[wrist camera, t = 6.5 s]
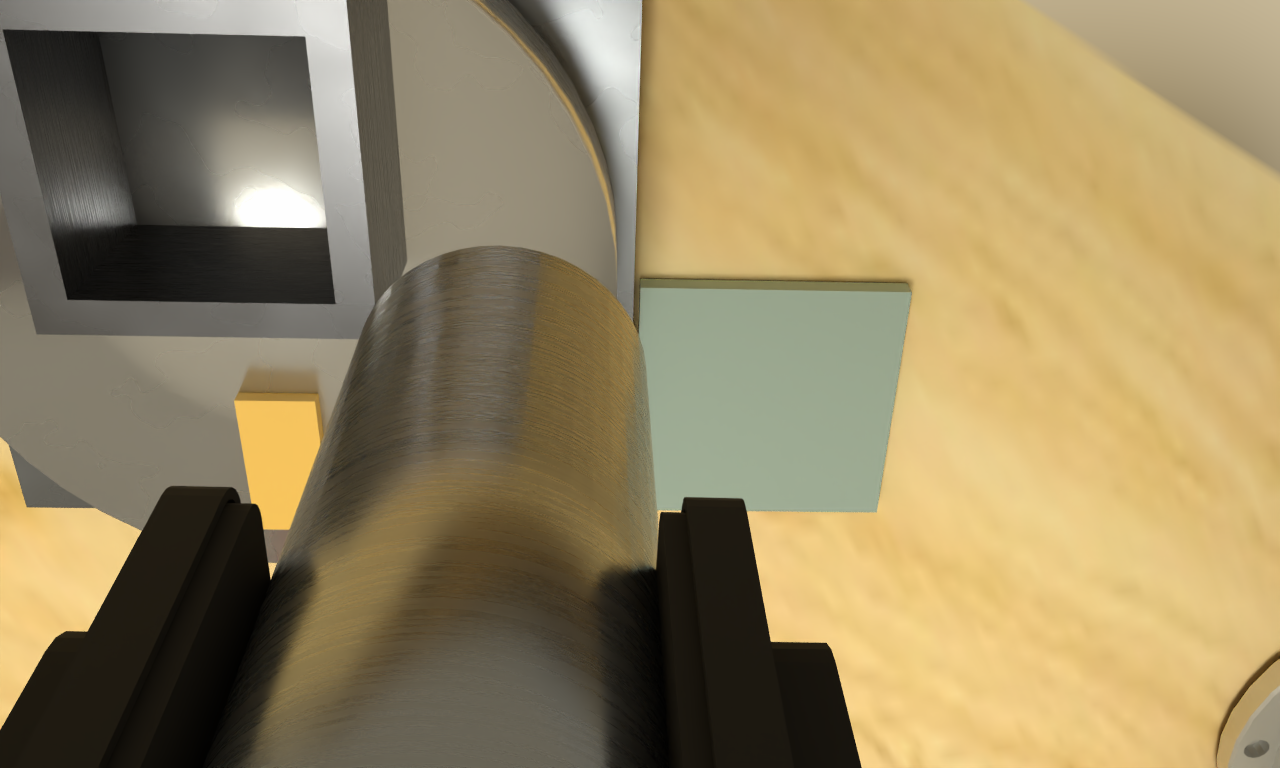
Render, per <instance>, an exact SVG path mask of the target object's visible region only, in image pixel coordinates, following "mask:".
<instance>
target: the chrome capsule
mask: <svg viewBox="0 0 1280 768" xmlns="http://www.w3.org/2000/svg"><path fill="white" fill-rule="evenodd" d="M658 533H659V529H658V516H657V503H656V490H655V476H654V463H653V450H652V437H651V424H650V411H649V398H648V385H647V371H646V362H645V356H644V350H643V347H642V344H641V341H640V337H639V334H638V332H637V330H636V328H635V326H634V324H633V322H632V320H631V318H630V316H629V315H628V313H627V312H626V310H625V309H624V308H623V306H622V305H621V303H620V302H619V301H618V300H617V299H616V298H615V296H614V295H613V294H612V293H611V292H610V291H609V290H608V289H607V288H606V287H605V286H603V285H602V284H601V283H600V282H599V281H598V280H596V279H595V278H594V277H593V276H591V275H590V274H588V273H586V272H585V271H583V270H582V269H580V268H579V267H577V266H575V265H573V264H571V263H569V262H567V261H565V260H563V259H561V258H558V257H555V256H552V255H549V254H547V253H544V252H541V251H536V250H531V249H527V248H522V247H512V246H502V245H499V246H478V247H471V248H464V249H459V250H456V251H452V252H448V253H445V254H442V255H439V256H437V257H435V258H432V259H430V260H427V261H425V262H423V263H422V264H420V265H418V266H416V267H415V268H413V269H411V270H410V271H408V272H407V273H406V274H404V275H403V276H402V277H400V278H399V279H398V280H397V281H395V282H394V283H393V284H392V285H391V286H390V287H389V288H388V289H387V291H386V292H385V293H384V294H383V295H382V296H381V297H380V299H379V300H378V302H377V303H376V304H375V306H374V307H373V309H372V310H371V312H370V314H369V316H368V318H367V320H366V322H365V324H364V327H363V330H362V332H361V335H360V338H359V340H358V343H357V346H356V349H355V351H354V354H353V357H352V360H351V362H350V365H349V368H348V371H347V373H346V376H345V379H344V382H343V384H342V387H341V390H340V392H339V395H338V398H337V401H336V403H335V406H334V409H333V412H332V414H331V417H330V420H329V423H328V425H327V428H326V431H325V434H324V436H323V439H322V442H321V445H320V447H319V450H318V453H317V455H316V458H315V461H314V464H313V466H312V469H311V472H310V475H309V477H308V480H307V483H306V486H305V488H304V491H303V494H302V497H301V499H300V502H299V505H298V507H297V510H296V513H295V516H294V518H293V521H292V524H291V527H290V529H289V532H288V535H287V538H286V540H285V543H284V546H283V549H282V551H281V554H280V557H279V560H278V562H277V565H276V568H275V570H274V573H273V576H272V579H271V581H270V584H269V587H268V590H267V592H266V595H265V598H264V601H263V603H262V606H261V609H260V612H259V614H258V617H257V620H256V622H255V625H254V628H253V631H252V633H251V636H250V639H249V642H248V644H247V647H246V650H245V653H244V655H243V658H242V661H241V664H240V666H239V669H238V672H237V675H236V677H235V680H234V683H233V685H232V688H231V691H230V694H229V696H228V699H227V702H226V705H225V707H224V710H223V713H222V716H221V718H220V721H219V724H218V727H217V729H216V732H215V735H214V737H213V740H212V743H211V746H210V748H209V751H208V754H207V757H206V759H205V762H204V765H203V768H669V755H668V741H667V726H666V712H665V697H664V683H663V668H662V653H661V639H660V624H659V610H658V595H657V581H656V560H657V546H658Z"/></svg>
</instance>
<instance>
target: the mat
mask: <svg viewBox="0 0 1280 768" xmlns="http://www.w3.org/2000/svg"><path fill="white" fill-rule="evenodd" d="M911 295H912V292H911V290H910V288H909V286H908V284H907V283H867V282H808V281H749V280H690V279H640V298H639V330H638V334H639V337H640V341H641V344H642V347H643V350H644V356H645V362H646V371H647V385H648V398H649V411H650V424H651V437H652V450H653V463H654V476H655V490H656V503H657V510H682V503H683V499H684V497H707V498H742V499H743V500H744V502H745V506H746V510H747V511H797V512H877V507H878V500H879V494H880V488H881V482H882V475H883V469H884V463H885V457H886V451H887V444H888V438H889V432H890V426H891V419H892V413H893V407H894V401H895V394H896V388H897V382H898V376H899V369H900V363H901V357H902V351H903V344H904V338H905V332H906V326H907V319H908V313H909V307H910V301H911Z"/></svg>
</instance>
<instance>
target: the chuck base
mask: <svg viewBox="0 0 1280 768" xmlns="http://www.w3.org/2000/svg"><path fill="white" fill-rule="evenodd" d="M508 1H509V2H510V3H511V4H512V5H513V6H514V7H515V8H516V9H517V10H518V11H519V12H520V13H521V14H522V16H523V17H524V18H525V19H526V20H527V21H528V22H529V24H530V25H531V26H532V27H533V28H534V29H535V31H536V32H537V33H538V34H539V35H540V36H541V38H542V39H543V40H544V41H545V42H546V43H547V44H548V46H549V48H550V49H551V51H552V52H553V54H554V55H555V57H556V58H557V60H558V61H559V63H560V64H561V66H562V67H563V69H564V70H565V72H566V73H567V75H568V76H569V78H570V79H571V81H572V82H573V84H574V86H575V88H576V90H577V92H578V94H579V96H580V98H581V100H582V102H583V104H584V106H585V108H586V110H587V112H588V114H589V116H590V118H591V120H592V123H593V125H594V128H595V131H596V134H597V137H598V140H599V143H600V146H601V149H602V152H603V155H604V158H605V161H606V164H607V168H608V173H609V179H610V184H611V189H612V194H613V199H614V205H615V223H616V242H617V298H616V299H617V300H618V301H619V302H620V303H621V305H622V306H623V308H624V309H625V310H626V312H627V313H628V315H629V316H630V318H631V320H632V322H633V305H634V270H635V235H636V200H637V165H638V130H639V95H640V60H641V25H642V0H508ZM9 447H10V451H11V454H12V458H13V461H14V465H15V468H16V471H17V475H18V478H19V482H20V485H21V489H22V492H23V496H24V499H25V503H26V506H27V507H52V508H95V507H93V506H92V505H90V504H88V503H87V502H85V501H83V500H82V499H80V498H78V497H77V496H75V495H73V494H72V493H70V492H68V491H67V490H65V489H63V488H62V487H61V486H59V485H58V484H57V483H55V482H54V481H53V480H51V479H50V478H49V477H47V476H46V475H45V474H43V473H42V472H41V471H39V470H38V469H37V468H35V467H34V466H33V465H31V464H30V463H29V462H27V461H26V460H25V459H24V458H23V457H22V456H21V455H20V454H19V453H18V452H16V451H15V450H14V449H13V448H12V447H11V446H10V445H9Z"/></svg>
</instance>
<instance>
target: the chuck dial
mask: <svg viewBox="0 0 1280 768" xmlns="http://www.w3.org/2000/svg"><path fill="white" fill-rule="evenodd" d="M499 245H502V246H512V247H522V248H527V249H531V250H536V251H541V252H544V253H547V254H549V255H552V256H555V257H558V258H561V259H563V260H565V261H567V262H569V263H571V264H573V265H575V266H577V267H579V268H580V269H582V270H583V271H585V272H586V273H588V274H590V275H591V276H593V277H594V278H595V279H596V280H598V281H599V282H600V283H601V284H602V285H603V286H605V287H606V288H607V289H608V290H609V291H610V292H611V293H612V294H613V295H614V296H615V298H617V242H616V223H615V205H614V199H613V194H612V189H611V184H610V179H609V173H608V168H607V164H606V161H605V158H604V155H603V152H602V149H601V146H600V143H599V140H598V137H597V134H596V131H595V128H594V125H593V123H592V120H591V118H590V116H589V114H588V112H587V110H586V108H585V106H584V104H583V102H582V100H581V98H580V96H579V94H578V92H577V90H576V88H575V86H574V84H573V82H572V81H571V79H570V78H569V76H568V75H567V73H566V72H565V70H564V69H563V67H562V66H561V64H560V63H559V61H558V60H557V58H556V57H555V55H554V54H553V52H552V51H551V49H550V48H549V46H548V44H547V43H546V42H545V41H544V40H543V39H542V38H541V36H540V35H539V34H538V33H537V32H536V31H535V29H534V28H533V27H532V26H531V25H530V24H529V22H528V21H527V20H526V19H525V18H524V17H523V16H522V14H521V13H520V12H519V11H518V10H517V9H516V8H515V7H514V6H513V5H512V4H511V3H510V2H509V1H508V0H0V437H1V438H2V439H3V440H4V441H6V442H7V443H8V444H9V445H10V446H11V447H12V448H13V449H14V450H15V451H16V452H18V453H19V454H20V455H21V456H22V457H23V458H24V459H25V460H26V461H27V462H29V463H30V464H31V465H33V466H34V467H35V468H37V469H38V470H39V471H41V472H42V473H43V474H45V475H46V476H47V477H49V478H50V479H51V480H53V481H54V482H55V483H57V484H58V485H59V486H61V487H62V488H63V489H65V490H67V491H68V492H70V493H72V494H73V495H75V496H77V497H78V498H80V499H82V500H83V501H85V502H87V503H88V504H90V505H92V506H93V507H95V508H97V509H98V510H100V511H102V512H104V513H106V514H108V515H110V516H112V517H114V518H116V519H118V520H120V521H123V522H125V523H127V524H129V525H131V526H133V527H135V528H137V529H139V530H143V528H144V526H145V524H146V523H147V521H148V519H149V517H150V515H151V513H152V511H153V510H154V508H155V506H156V504H157V502H158V500H159V498H160V497H161V495H162V493H163V492H164V491H165V489H166V488H168V487H170V486H208V487H233V488H234V489H236V490H237V492H238V494H239V497H240V501H241V503H252V504H257V505H258V507H259V509H260V512H261V516H262V523H263V530H264V537H265V544H266V551H267V558H268V562H269V563H277V562H278V560H279V557H280V554H281V551H282V549H283V546H284V543H285V540H286V538H287V535H288V532H289V529H290V527H291V524H292V521H293V518H294V516H295V513H296V510H297V507H298V505H299V502H300V499H301V497H302V494H303V491H304V488H305V486H306V483H307V480H308V477H309V475H310V472H311V469H312V466H313V464H314V461H315V458H316V455H317V453H318V450H319V447H320V445H321V442H322V439H323V436H324V434H325V431H326V428H327V425H328V423H329V420H330V417H331V414H332V412H333V409H334V406H335V403H336V401H337V398H338V395H339V392H340V390H341V387H342V384H343V382H344V379H345V376H346V373H347V371H348V368H349V365H350V362H351V360H352V357H353V354H354V351H355V349H356V346H357V343H358V340H359V338H360V335H361V332H362V330H363V327H364V324H365V322H366V320H367V318H368V316H369V314H370V312H371V310H372V309H373V307H374V306H375V304H376V303H377V302H378V300H379V299H380V297H381V296H382V295H383V294H384V293H385V292H386V291H387V289H388V288H389V287H390V286H391V285H392V284H393V283H394V282H395V281H397V280H398V279H399V278H400V277H402V276H403V275H404V274H406V273H407V272H408V271H410V270H411V269H413V268H415V267H416V266H418V265H420V264H422V263H423V262H425V261H427V260H430V259H432V258H435V257H437V256H439V255H442V254H445V253H448V252H452V251H456V250H459V249H464V248H471V247H478V246H499Z"/></svg>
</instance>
